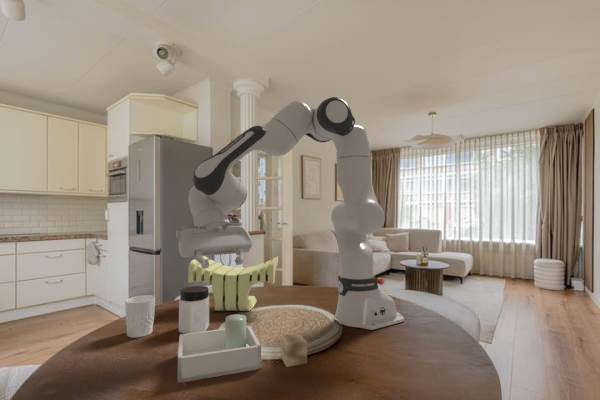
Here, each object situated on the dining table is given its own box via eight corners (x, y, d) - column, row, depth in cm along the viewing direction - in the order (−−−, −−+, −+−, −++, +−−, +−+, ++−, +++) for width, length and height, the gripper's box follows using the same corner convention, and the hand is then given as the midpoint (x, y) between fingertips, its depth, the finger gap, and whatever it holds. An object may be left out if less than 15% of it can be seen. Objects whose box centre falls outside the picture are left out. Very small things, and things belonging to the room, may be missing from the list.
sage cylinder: (243, 349, 78) (243, 313, 79) (247, 358, 74) (248, 320, 74) (223, 352, 77) (223, 315, 77) (226, 362, 72) (227, 322, 72)
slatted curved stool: (187, 313, 109) (188, 262, 110) (203, 300, 125) (203, 255, 126) (273, 314, 108) (273, 262, 109) (278, 300, 124) (278, 255, 124)
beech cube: (300, 354, 78) (299, 334, 78) (307, 363, 73) (307, 342, 73) (280, 357, 76) (280, 336, 76) (286, 367, 71) (286, 345, 72)
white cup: (159, 333, 92) (159, 298, 92) (130, 341, 86) (130, 304, 86) (148, 326, 97) (149, 293, 97) (120, 333, 91) (121, 299, 91)
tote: (249, 344, 83) (249, 325, 84) (261, 368, 71) (261, 346, 71) (179, 354, 77) (179, 334, 78) (177, 383, 65) (177, 358, 65)
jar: (182, 336, 89) (182, 294, 89) (175, 328, 95) (176, 288, 96) (213, 330, 94) (213, 289, 94) (205, 322, 100) (205, 284, 101)
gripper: (176, 220, 84) (185, 261, 76) (246, 218, 96) (261, 254, 87) (172, 235, 87) (180, 276, 79) (240, 232, 99) (253, 268, 91)
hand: (223, 265), depth 83 cm, fingers open, 8 cm apart
